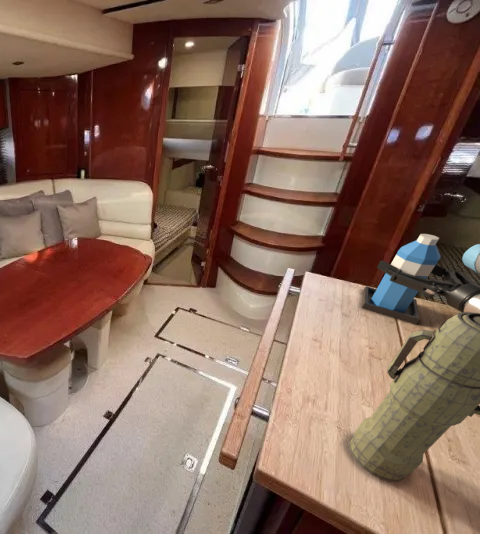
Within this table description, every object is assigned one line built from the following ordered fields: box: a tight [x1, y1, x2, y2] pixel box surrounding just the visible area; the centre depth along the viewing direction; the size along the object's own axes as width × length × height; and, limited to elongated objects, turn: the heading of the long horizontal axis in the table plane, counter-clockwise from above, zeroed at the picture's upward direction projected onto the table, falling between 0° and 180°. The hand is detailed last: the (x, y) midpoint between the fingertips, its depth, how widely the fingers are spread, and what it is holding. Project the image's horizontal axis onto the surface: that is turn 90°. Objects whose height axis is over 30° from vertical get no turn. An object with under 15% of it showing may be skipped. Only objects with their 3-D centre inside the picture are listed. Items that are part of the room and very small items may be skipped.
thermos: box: [347, 312, 480, 483], centre depth 52 cm, size 9×12×35 cm
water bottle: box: [370, 233, 442, 313], centre depth 95 cm, size 9×9×25 cm
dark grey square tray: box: [361, 285, 421, 325], centre depth 101 cm, size 13×13×2 cm
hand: (400, 263), depth 97 cm, fingers open, 13 cm apart
